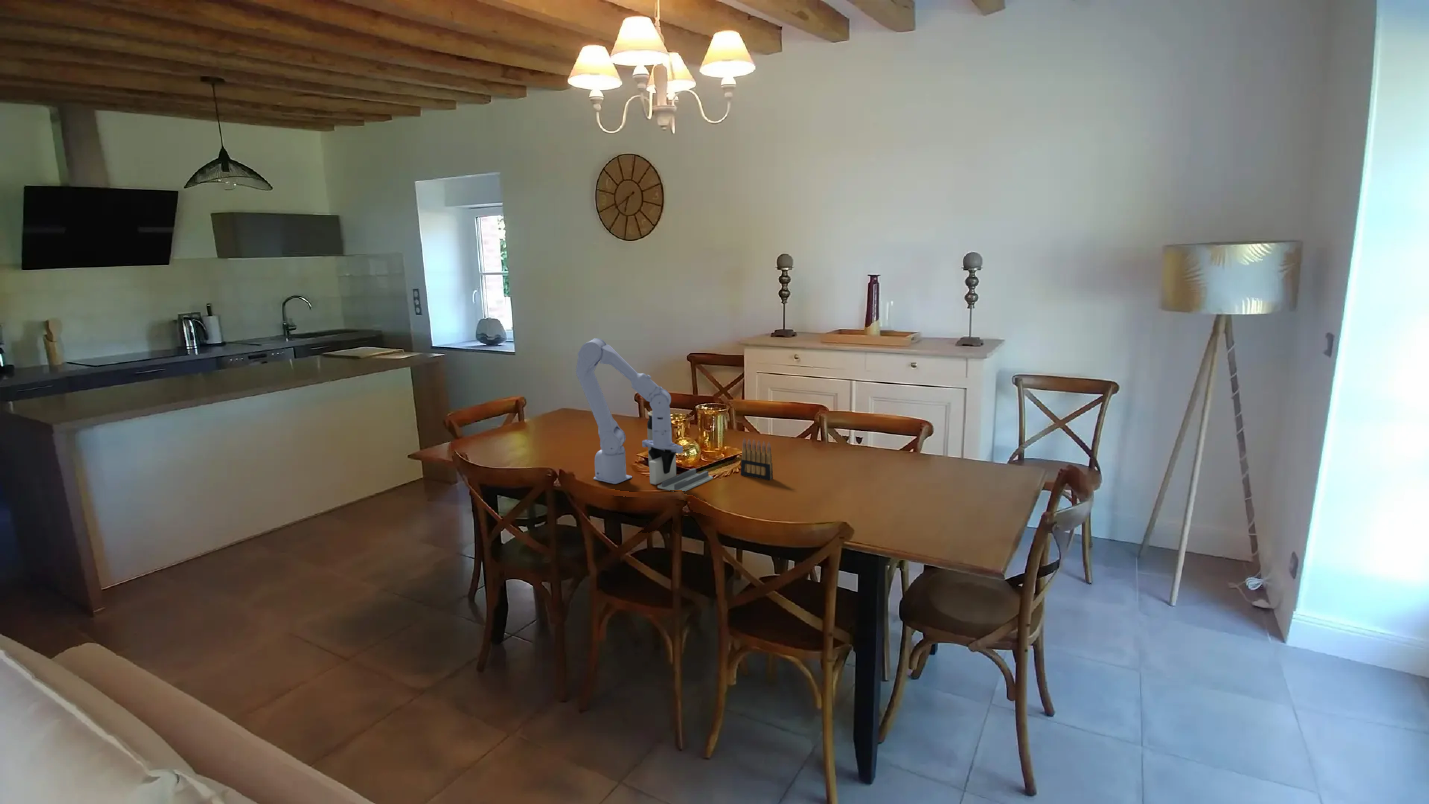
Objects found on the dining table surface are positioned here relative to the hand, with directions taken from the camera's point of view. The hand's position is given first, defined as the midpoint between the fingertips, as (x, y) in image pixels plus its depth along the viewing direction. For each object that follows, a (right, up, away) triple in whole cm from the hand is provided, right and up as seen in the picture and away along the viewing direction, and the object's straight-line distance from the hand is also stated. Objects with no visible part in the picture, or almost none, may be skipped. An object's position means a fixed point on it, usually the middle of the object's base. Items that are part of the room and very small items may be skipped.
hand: (663, 472), depth 226 cm
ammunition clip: (+29, -2, +2) cm, 29 cm away
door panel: (0, -2, +1) cm, 2 cm away
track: (+7, -3, -3) cm, 8 cm away
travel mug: (-2, +1, +15) cm, 15 cm away
